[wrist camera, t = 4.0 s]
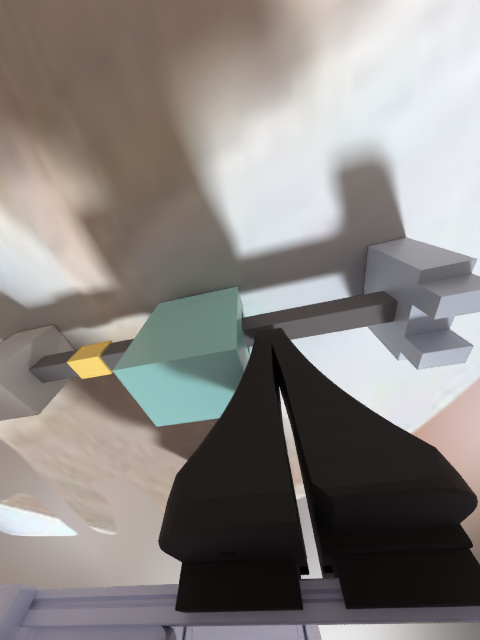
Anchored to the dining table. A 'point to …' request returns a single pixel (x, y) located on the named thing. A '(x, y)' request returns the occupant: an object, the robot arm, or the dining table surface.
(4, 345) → the grey cube
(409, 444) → the robot arm
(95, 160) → the dining table surface
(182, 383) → the sleeve
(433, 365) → the grey notched jaw block
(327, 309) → the shaft
